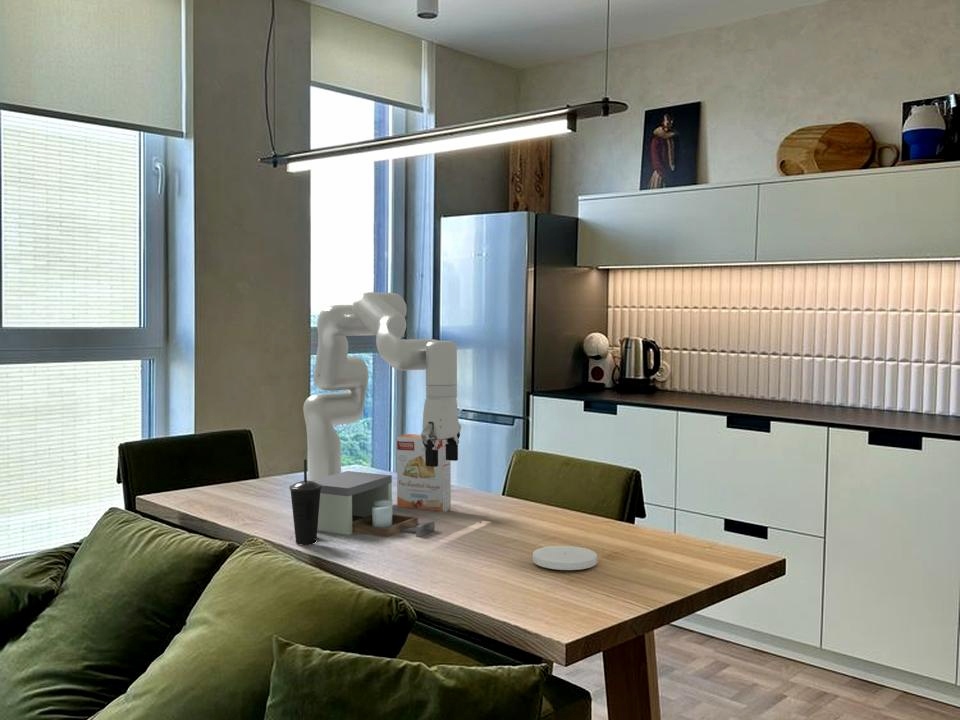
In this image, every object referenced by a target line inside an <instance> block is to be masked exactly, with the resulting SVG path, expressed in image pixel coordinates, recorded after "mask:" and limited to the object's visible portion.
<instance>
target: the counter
mask: <svg viewBox="0 0 960 720" xmlns="http://www.w3.org/2000/svg"><path fill="white" fill-rule="evenodd" d="M392 478H393V477H392V475H391V474H380V473H372V472H362V471H352V470H346V471H341V473H338V474H335V475H331V476H327V477H323V478H320V479H316V480H312V481H313V482H316V483H318V484H321V485H322V488H321V491H320V503H319V516H318V529H317V532H318V531H321V532H326V533H333V534H340V535H346V536H348V535H349V536H350V535H352V534H353V532H352V522H353V516H356V517H362V518H365V517H367V516H370V515H372V507H374V504H373V501H374V500H377V499H391V500H392V501H393V495H392V494H393V493H392V490H393V486H392V485H393V484H392V481H393V480H392Z"/></svg>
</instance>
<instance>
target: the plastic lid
mask: <svg viewBox="0 0 960 720" xmlns="http://www.w3.org/2000/svg"><path fill="white" fill-rule="evenodd" d="M532 562H533V563H534V564H535V565H537V566H539V567H541V568H546V569H552V570H557V571H558V570H560V571H576V570H577V571H578V570H584V569H589V568H593V567H595V566H596V565H597V563H598V554H597V553H596V551H594V550H591V549H589V548H585V547H580V546H573V545H551V546H543V547H539V548H537V549H535V550H534V551H533V552H532Z"/></svg>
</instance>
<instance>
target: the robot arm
mask: <svg viewBox="0 0 960 720" xmlns="http://www.w3.org/2000/svg"><path fill="white" fill-rule="evenodd" d="M407 311H408V310H407V304H406V302H405V300H404V298H403V297H402V296H401V295H400V294H398V293H395V292H364V293H362V294H359V295H358V296H357V297H356V298H355V299H354V300H353V303H352V304H335V305H329V306H326V307H323V309H322V310H321V311H320V312H319V314H318V318H317V321H316V322H317V323H316V326H317V327H316V328H317V334H318V335H317V339H318V343H317V350H316V357H315V362H314V363H315V365H314V372H313V373H314V374H313V383H314V386H315V387H316V388H317V389H318V390H321V391H325V392H320V393H315V394H312V395H310V396H309V397H307V398H306V400H305V401H304V403H303V417H304V421H305V422H304V423H305V428H306V441H307V481H312V480H316V479H320V478H323V477H327V476H331V475H335V474H338V473H342V441H341V438H340V436H339V434H338V433H337V431H336V429H335V428H334V426H343V425H350V424H351V425H352V424H354V423H357V422H359V421H360V419H361V418H362V416H363V413H364V408H365V403H366V396H367V391H368V390H367V389H368V383H369V370H368V366H367V363H366V362H365V360H363V358H361V357H358V356H348V353H349V341H348V339H347V336H348V337H349V336H352V337H355V336H356V337H359V336H361V337H362V336H364V337H365V336H366V337H367V336H376V337H375V344H376V349H377V351H378V354H379V356H380V358H381V359H383V360H384V361H385V362H386V363H387V364H388V365H389V366H390V367H392V368H393V369H395V370H398V371H418V370H419V371H423V370H424V371H425V399H424V404H423V411H422V412H423V413H422V431H421V433H420V435H421V437H422V440H423V444H424V449H425V463H426V466H432V467H437V466H438V450H436V448H437V446H438V443H439V441H440V440H445V439H446V441H447V443H448V444H446V460H451V462H452V461H454V462H456V461H457V462H458V460H459V443H460V440H459V439H460V437H461V429H462V424H461V423H460V422H459V408H458V400H457V399H458V350H457V349H458V348H457V343H456V342H454V341H453V340H438V339H435V338H431V339H430V338H422V339H421V338H417V339H416V338H414V339H413V338H409V339H401V338H402V337H403V336H404V334H405V332H406V328H407V320H406V316H407V313H408V312H407ZM326 391H328V392H326ZM329 391H331V392H329ZM334 391H337V392H334ZM432 441H434V443H432Z"/></svg>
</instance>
